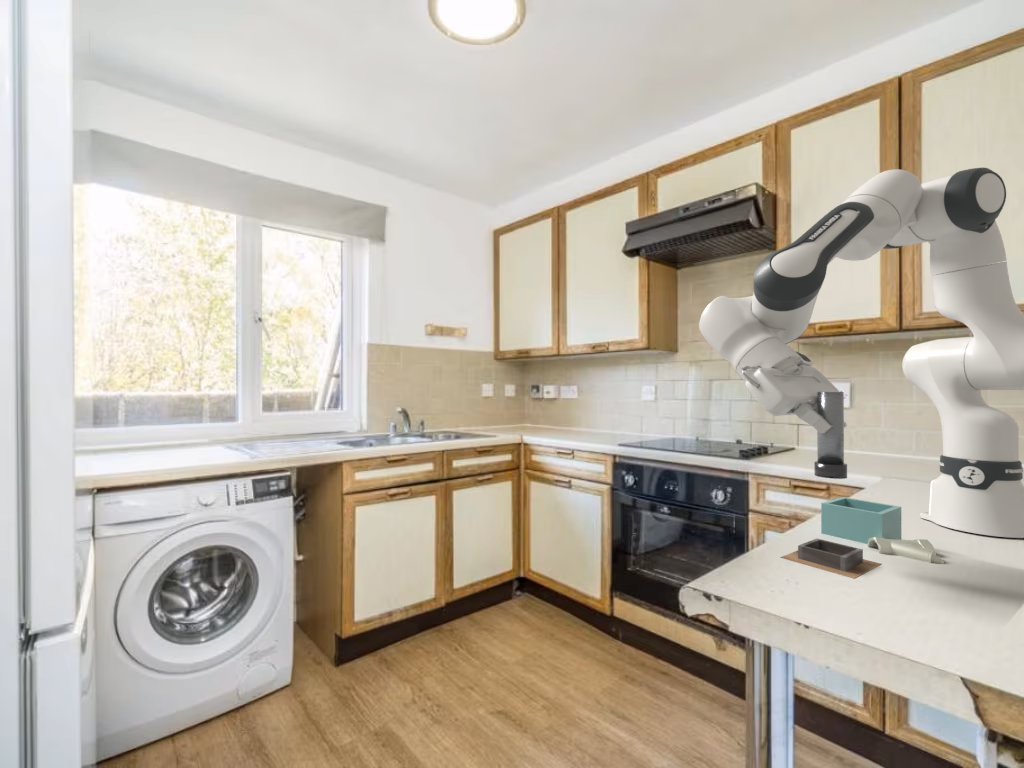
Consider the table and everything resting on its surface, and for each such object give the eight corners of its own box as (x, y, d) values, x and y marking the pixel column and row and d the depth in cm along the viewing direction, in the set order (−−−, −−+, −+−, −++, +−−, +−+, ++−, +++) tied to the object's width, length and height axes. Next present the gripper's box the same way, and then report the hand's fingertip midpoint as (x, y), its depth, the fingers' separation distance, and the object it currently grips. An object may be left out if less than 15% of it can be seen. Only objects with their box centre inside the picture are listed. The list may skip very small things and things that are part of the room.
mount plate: (809, 554, 80) (810, 533, 80) (881, 573, 72) (881, 550, 72) (780, 566, 75) (780, 544, 75) (854, 589, 66) (854, 564, 66)
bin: (842, 533, 93) (842, 496, 93) (901, 546, 85) (901, 506, 85) (821, 541, 87) (821, 503, 88) (881, 556, 80) (881, 514, 80)
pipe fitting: (950, 577, 73) (920, 558, 79) (952, 552, 72) (921, 535, 79) (892, 574, 74) (867, 555, 80) (893, 549, 73) (868, 533, 80)
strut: (821, 472, 77) (821, 391, 77) (852, 476, 73) (851, 392, 73) (809, 475, 74) (809, 391, 74) (840, 479, 71) (839, 392, 71)
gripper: (750, 351, 73) (820, 418, 65) (811, 356, 85) (877, 413, 77) (723, 380, 77) (786, 447, 69) (785, 381, 89) (846, 439, 81)
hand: (835, 429), depth 73 cm, fingers closed on strut, 3 cm apart
